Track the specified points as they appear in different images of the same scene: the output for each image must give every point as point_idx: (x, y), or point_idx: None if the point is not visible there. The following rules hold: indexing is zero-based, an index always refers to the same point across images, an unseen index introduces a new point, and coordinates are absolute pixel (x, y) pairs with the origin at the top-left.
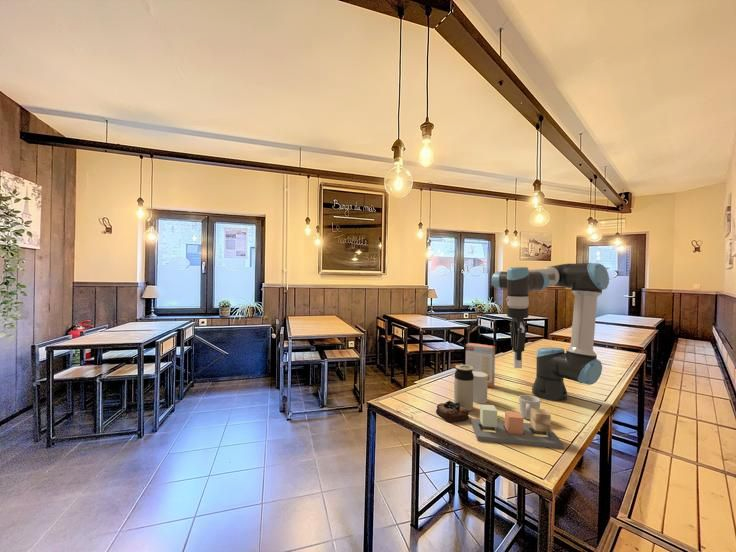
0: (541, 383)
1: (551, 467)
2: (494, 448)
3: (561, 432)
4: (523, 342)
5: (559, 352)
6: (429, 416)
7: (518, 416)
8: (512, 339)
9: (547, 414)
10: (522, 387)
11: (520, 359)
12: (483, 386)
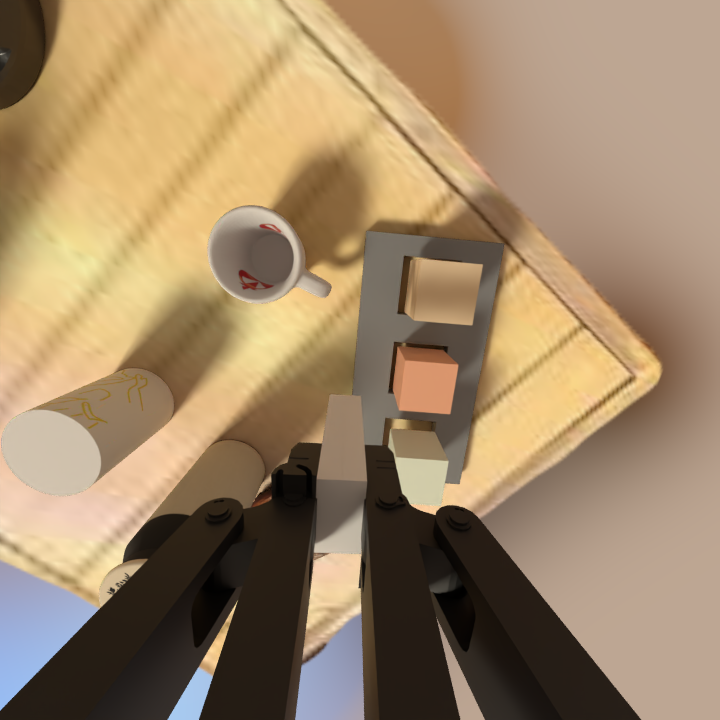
0: None
1: (590, 332)
2: (495, 444)
3: (388, 188)
4: (580, 673)
5: None
6: (319, 569)
7: (445, 378)
8: (180, 691)
9: (476, 275)
10: None
11: (391, 457)
12: (128, 417)
